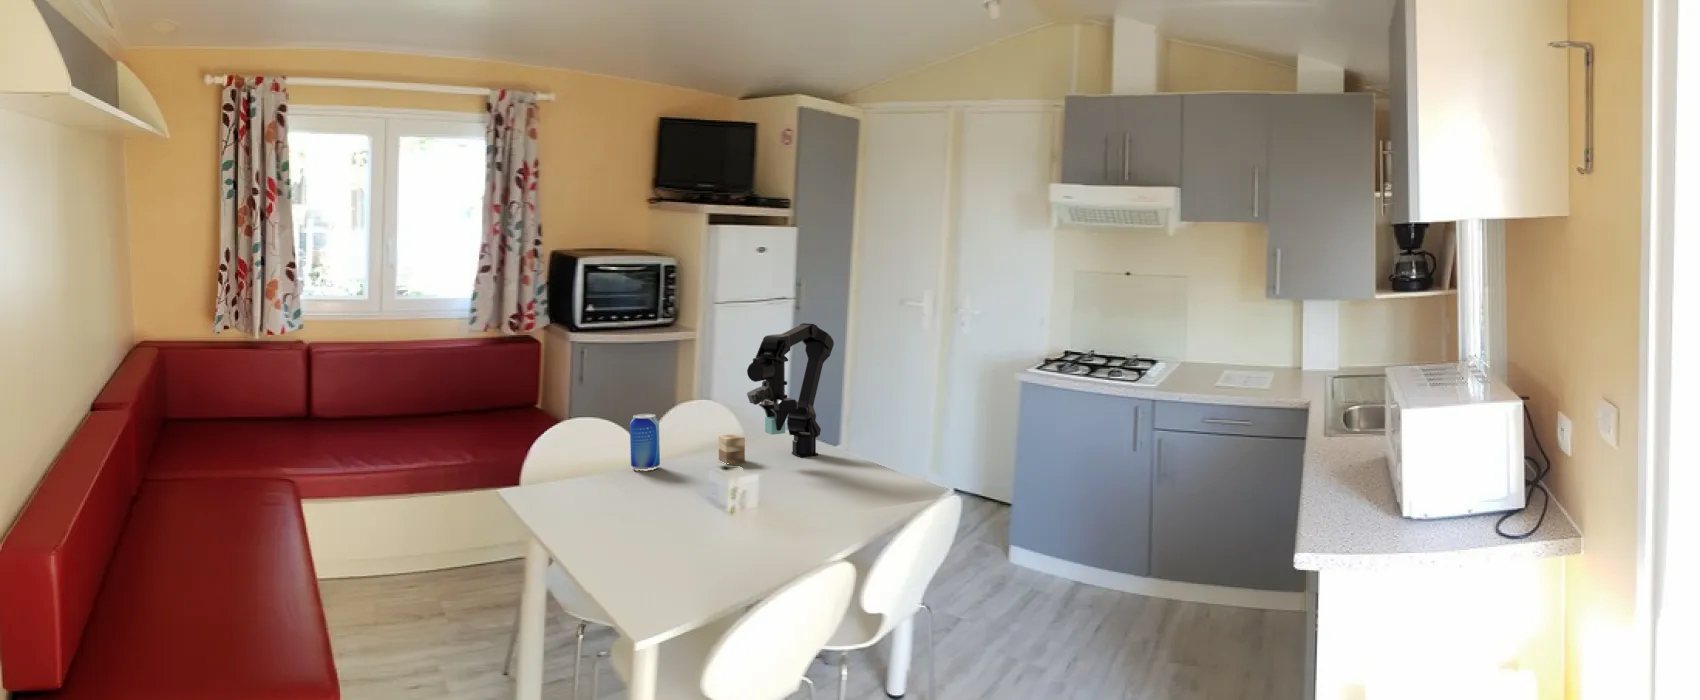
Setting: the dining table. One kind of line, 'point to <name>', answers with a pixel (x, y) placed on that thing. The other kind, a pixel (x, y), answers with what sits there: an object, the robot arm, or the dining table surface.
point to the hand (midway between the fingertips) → (775, 429)
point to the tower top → (732, 443)
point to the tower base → (732, 457)
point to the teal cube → (773, 426)
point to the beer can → (644, 441)
